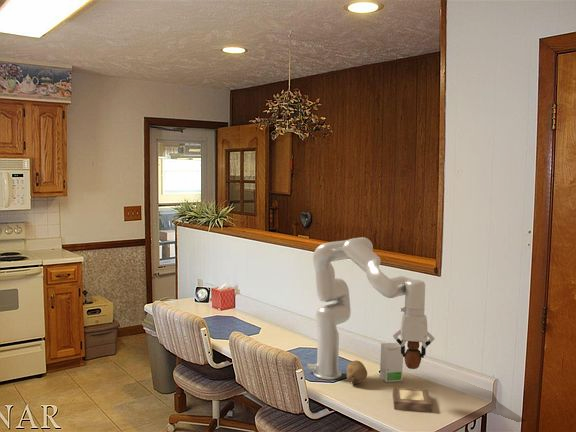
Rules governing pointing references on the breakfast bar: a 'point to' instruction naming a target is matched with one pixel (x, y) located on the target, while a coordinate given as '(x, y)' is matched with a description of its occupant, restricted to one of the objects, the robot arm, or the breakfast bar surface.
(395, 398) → the walnut plinth
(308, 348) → the breakfast bar surface
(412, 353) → the wooden figurine
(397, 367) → the skincare box
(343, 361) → the breakfast bar surface
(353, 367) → the natural sponge
